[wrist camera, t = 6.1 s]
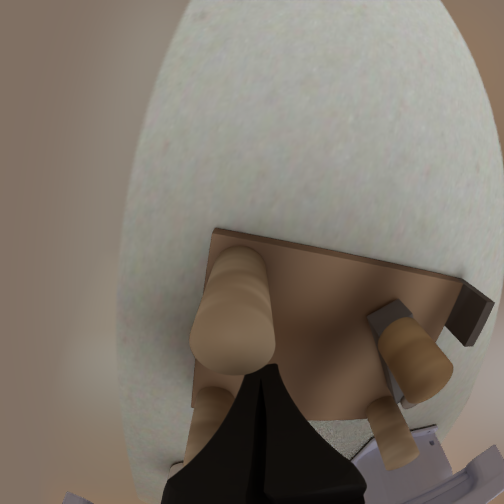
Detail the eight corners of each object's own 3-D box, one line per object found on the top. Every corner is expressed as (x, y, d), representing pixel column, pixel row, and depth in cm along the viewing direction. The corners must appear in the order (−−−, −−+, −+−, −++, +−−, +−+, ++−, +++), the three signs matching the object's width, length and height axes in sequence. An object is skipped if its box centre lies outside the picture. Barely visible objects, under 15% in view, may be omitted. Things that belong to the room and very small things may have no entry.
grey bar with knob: (416, 377, 15) (446, 429, 10) (386, 394, 15) (412, 449, 10) (400, 293, 12) (453, 351, 8) (362, 315, 13) (403, 383, 8)
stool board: (463, 279, 14) (524, 327, 8) (391, 407, 17) (417, 464, 11) (214, 227, 13) (182, 288, 7) (193, 397, 16) (177, 474, 10)
